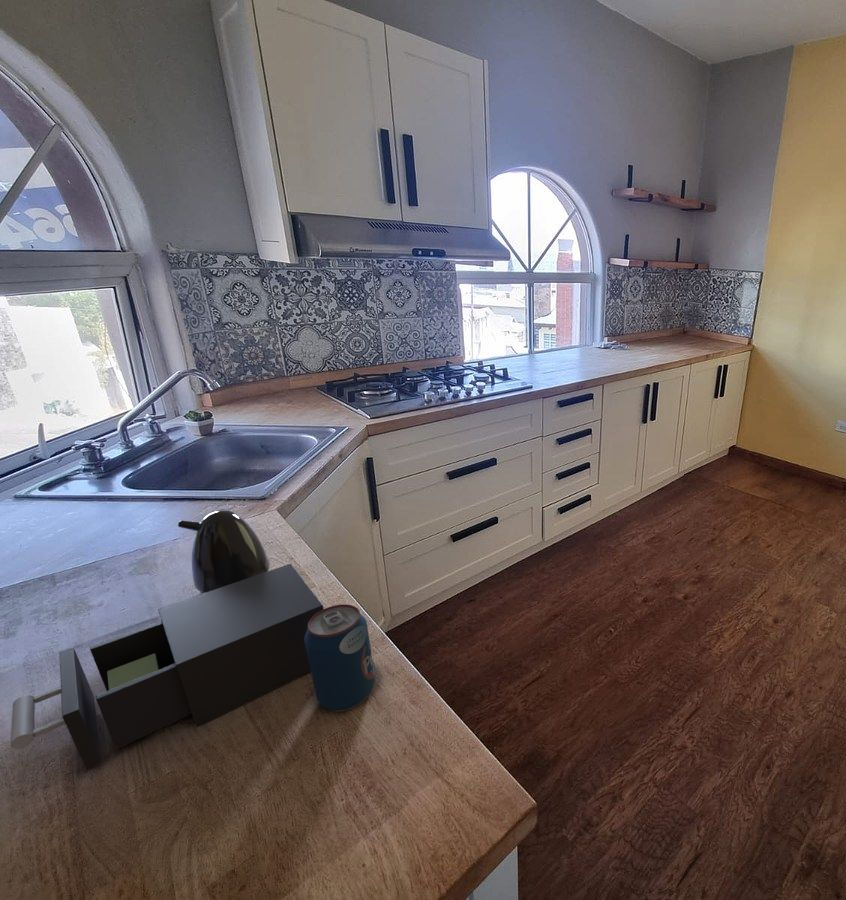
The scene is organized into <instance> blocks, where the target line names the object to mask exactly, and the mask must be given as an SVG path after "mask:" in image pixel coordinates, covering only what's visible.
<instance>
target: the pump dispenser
mask: <svg viewBox="0 0 846 900" xmlns="http://www.w3.org/2000/svg"><path fill="white" fill-rule="evenodd" d="M177 526H178V527H177V528H181V529H186V530H190V531H194V532H195V536H194V539H193V543H192V548H191V561H190V562H191V563H190V564H191V575H192V581H193V585H194V587H195V589H196V591H198V592H200V593H201V594H204V593H206V592H209V591H212V590H215V589H218V588H221V587H224V586H227V585H230V584H233V583H236V582H239V581H241V580H244V579H247V578H250V577H253V576H256V575H259V574H262V573H265V572H268V571H270V567H271V565H270V564H271V563H270V560H269V557H268V555H267V552H266V549H265V548H264V546H263V544H262V541H261V540H260V538H259V537H258V535H257V533H256V532H255V531H254V530H253V529H252V527H251V526H250V524H249V523H248V522H247V521H246V520H245V519H244V518H243V517H242V516H240V515H239V514H238V513H236V512H234V511H231V510H227V509H220V510H215V511H211V512H210V513H207V514H206V515H205V516H204V517H203V518H202V520H201V521H190V520H179V521H178V523H177Z"/></svg>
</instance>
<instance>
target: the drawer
mask: <svg viewBox="0 0 846 900" xmlns="http://www.w3.org/2000/svg"><path fill="white" fill-rule="evenodd" d="M89 650H90V653H91V656H92V658H93V661H94V662H95V666H96V668H97V671H98V673H99V676H100V677H101V680H102V683H103V686H104V688H105V690H106V691H104V692H102V693H99V694H96V695H94V692H93V690H92V688H91V686H90V683H89V681H88V677H87V676H86V674H85V671H84V669H83V667H82V663H81V661H80V659H79V656H78V654H77V652H76V650H75V647H71V648H68V649H65V650H61V651H60V652H59V672H60V673H59V675H60V677H59V679H60V686H58V687H56V688H53V689H50V690H47V691H45V692H43V693H39V694H37V695H35V696H33V695H31V694H24V695H21V696H18V697H17V698H15V700H14V701H13V703H12V711H11V712H12V713H11V728H10V729H11V730H10V748H12V749H14V750H20V749H24V748H27V747H28V746H30V745H31V744H32V743H33V742H34V740H35V738H37V737H40V736H42V735H44V734H46V733H49V732H51V731H53V730H56V729H59V728H61V727H63V726H66V728H67V730H68V733H69V735H70V737H71V739H72V741H73V744H74V746H75V748H76V750H77V752H78V755H79V756H80V759H81V761H82V763H83V766H84V768H85V770H86V771H88V770H90V769H92V768H94V767H97V766H99V765H101V764H102V763H103V760H102V752H101V743H100V735H99V726H98V717H97V709H96V703H97V705H98V708H99V711H100V712H101V715H102V718H103V720H104V723H105V725H106V728H107V729H108V732H109V734H110V737H111V740H112V742H113V743H114V747H115V748H116V749H120V748H122V747H124V746H126V745H128V744H130V743H133V742H134V741H137V740H139V739H141V738H144V737H146V736H147V735H149V734H151V733H154V732H156V731H159V730H160V729H162V728H164V727H166V726H170V725H171V724H173V723H175V722H178V721H179V720H182V719H183V718H185V717H188V716H190V715H192V713H191V710H190V707H189V704H188V701H187V698H186V695H185V692H184V689H183V686H182V683H181V680H180V677H179V674H178V671H177V668H176V665H175V662H174V658H173V655H172V652H171V649H170V646H169V643H168V640H167V636H166V633H165V630H164V627H163V624H162V621H161V620H159V621H156V622H154V623H152V624H149V625H146V626H143V627H140V628H137V629H134V630H132V631H129V632H126V633H123V634H120V635H118V636H115V637H112V638H110V639H106V640H104V641H101V642H97V643H95V644H92V645H90V646H89ZM154 653H155V654H156V657H157V660H158V663H159V665H160V668H161V669H160V670H157V671H155V672H153V673H150V674H148V675H145V676H143V677H140V678H138V679H135V680H133V681H130V682H128V683H126V684H123V685H121V686H118V687H116V688H113V689H111V690H109V686H108V675H107V671H109V670H112V669H114V668H117V667H120V666H122V665H125V664H128V663H130V662H133V661H136V660H138V659H141V658H144V657H146V656H149V655H151V654H154ZM58 695H60V698H61V700H60V701H61V717H62V718H59V719H57V720H54V721H52V722H49V723H47V724H44V725H42V726H40V727H37V728H35V708H36V707H35V706H36V704H39V703H40V702H42V701H45V700H48V699H50V698H53V697H55V696H58Z"/></svg>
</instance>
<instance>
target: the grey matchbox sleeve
mask: <svg viewBox="0 0 846 900" xmlns="http://www.w3.org/2000/svg"><path fill="white" fill-rule="evenodd" d="M323 609H325V608H324V605H323V603H322V602H321V600H320V599H319V598H318V596H317V595H316V594H315V592H314V591H313V590H312V589H311V588H310V586H309V585H308V584H307V583H306V581H305V580H304V579H303V577H302V576H301V575H300V573H299V572H298V571H297V570H296V568H295V567H294V566H293V564H292V563H288V564H286V565H283V566H279V567H276V568H274V569H271V570H268V572H265V573H262V574H259V575H256V576H253V577H250V578H247V579H244V580H241V581H239V582H236V583H233V584H230V585H227V586H224V587H221V588H218V589H215V590H212V591H209V592H206V593H204V594H202V593H201V594H198V595H195V596H192V597H189V598H187V599H184V600H181V601H177V602H175V603H171V604H169V605H166V606H163V607H160V608H158V609H157V611H158V614H159V617H160V621H162V624H163V627H164V630H165V633H166V636H167V640H168V643H169V646H170V649H171V652H172V655H173V658H174V662H175V665H176V668H177V671H178V674H179V677H180V680H181V683H182V686H183V689H184V692H185V695H186V698H187V701H188V704H189V707H190V710H191V713H192V714H191V716H192V719H193V722H194V725H195V728H199V727H201V726H203V725H205V724H207V723H209V722H211V721H214V720H216V719H218V718H220V717H222V716H224V715H226V714H228V713H230V712H232V711H235V710H236V709H238V708H240V707H242V706H244V705H247V704H248V703H251V702H253V701H254V700H257V699H258V698H261V697H262V696H265V695H266V694H269V693H271V692H273V691H275V690H277V689H280V688H281V687H283V686H285V685H288V684H290V683H292V682H294V681H296V680H297V679H300V678H302V677H304V676H307V674H309V673H310V674H311V669H310V664H309V660H308V655H307V650H306V645H305V640H304V639H305V634H306V632H307V630H308V623H309V621H310V619H311V618H312V617H313V616H314V615H315V614H316V613H318V612H319V611H321V610H323Z"/></svg>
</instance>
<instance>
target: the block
mask: <svg viewBox="0 0 846 900" xmlns="http://www.w3.org/2000/svg"><path fill="white" fill-rule="evenodd" d="M160 669H161V668H160V665H159V663H158V660H157V657H156V654H155V653H154V654H151V655H149V656H146V657H144V658H141V659H138V660H136V661H133V662H130V663H128V664H125V665H122V666H120V667H117V668H114V669H112V670H109V671H107V675H108V686H109V690H111V689H113V688H116V687H118V686H121V685H123V684H126V683H128V682H130V681H133V680H135V679H138V678H140V677H143V676H145V675H148V674H150V673H153V672H155V671H157V670H160Z"/></svg>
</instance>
